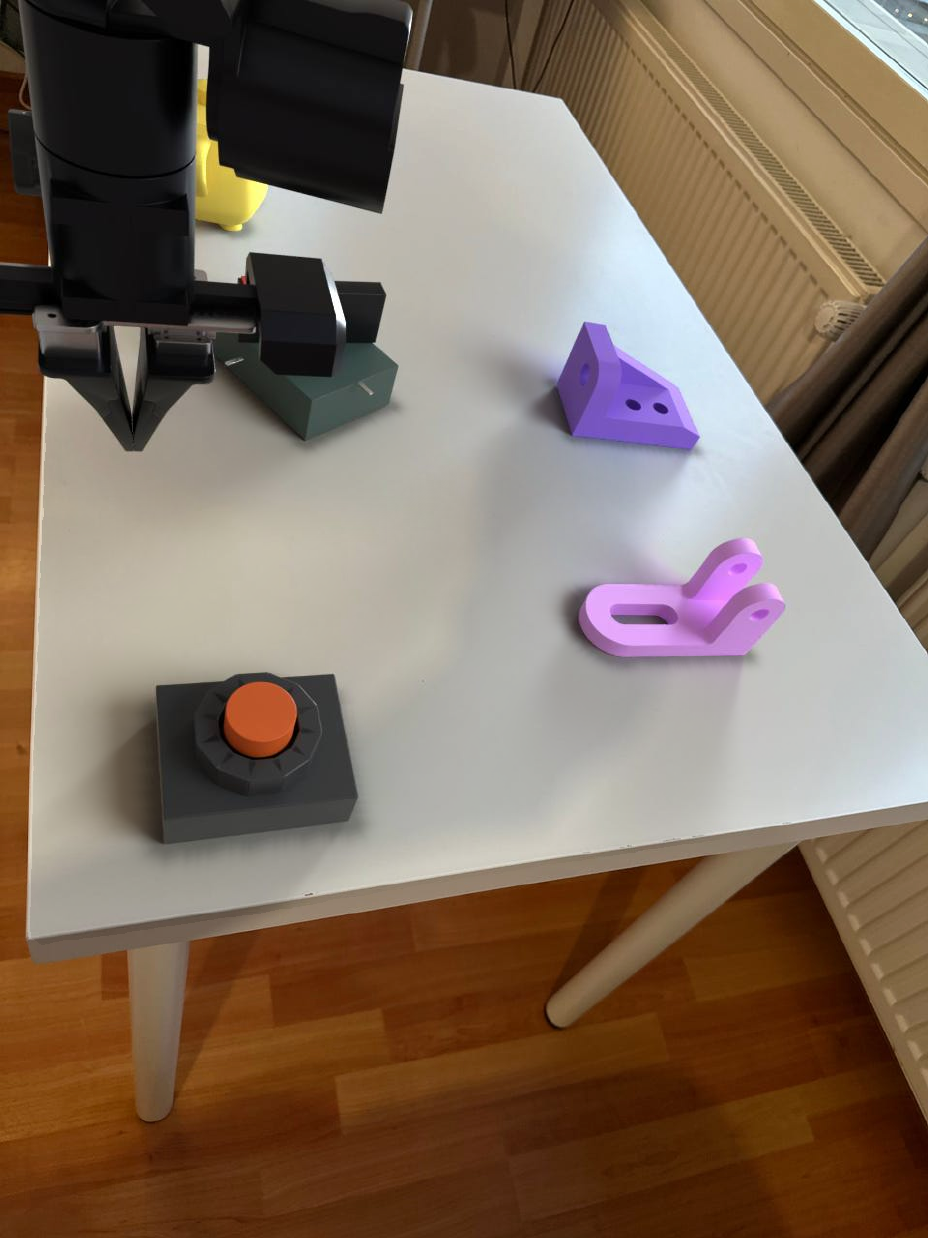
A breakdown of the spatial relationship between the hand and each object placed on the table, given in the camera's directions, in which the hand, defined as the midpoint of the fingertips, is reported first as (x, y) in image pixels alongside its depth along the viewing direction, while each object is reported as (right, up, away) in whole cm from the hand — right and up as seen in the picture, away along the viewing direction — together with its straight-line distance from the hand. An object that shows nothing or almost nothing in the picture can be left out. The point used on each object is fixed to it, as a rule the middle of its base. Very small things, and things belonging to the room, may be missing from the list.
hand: (133, 445), depth 45 cm
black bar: (+5, +13, +24) cm, 27 cm away
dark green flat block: (+4, +11, +27) cm, 29 cm away
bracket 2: (+31, -10, +21) cm, 39 cm away
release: (+5, -17, +5) cm, 19 cm away
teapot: (-8, +31, +38) cm, 50 cm away
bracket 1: (+32, +10, +36) cm, 49 cm away
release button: (+6, -15, +2) cm, 16 cm away
